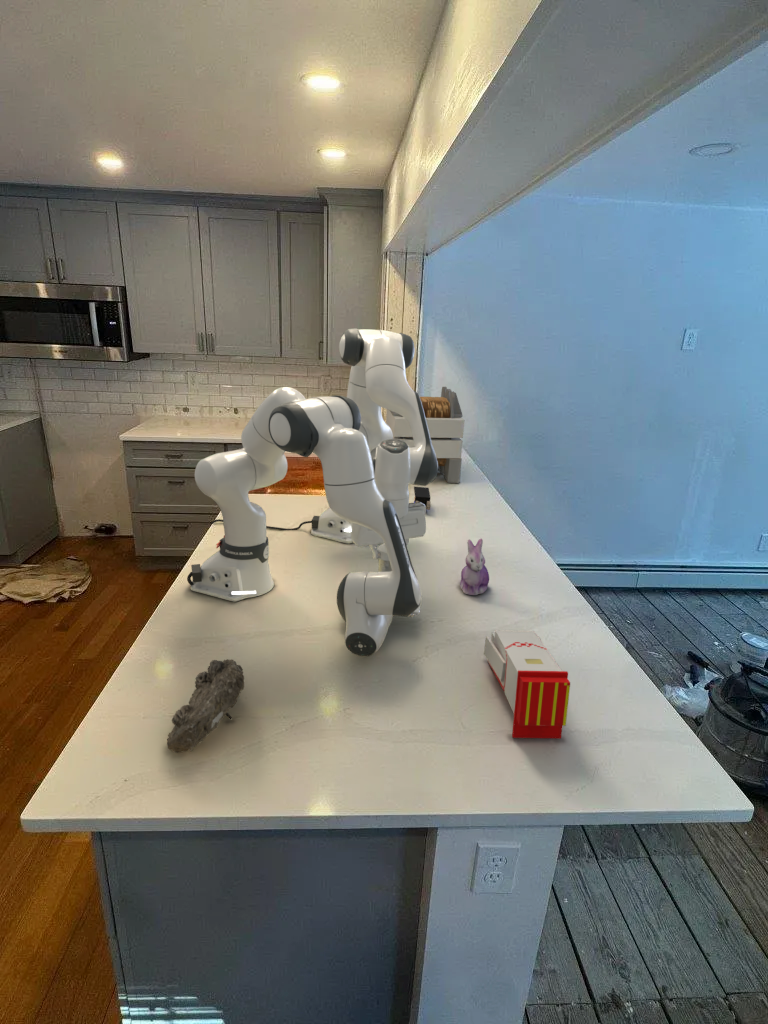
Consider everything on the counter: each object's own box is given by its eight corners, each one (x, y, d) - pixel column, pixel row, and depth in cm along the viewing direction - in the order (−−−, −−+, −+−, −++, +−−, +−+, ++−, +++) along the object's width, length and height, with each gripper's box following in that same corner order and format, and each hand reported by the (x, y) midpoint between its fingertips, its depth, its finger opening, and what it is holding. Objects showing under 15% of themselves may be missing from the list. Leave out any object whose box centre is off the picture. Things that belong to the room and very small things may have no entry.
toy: (532, 614, 131) (579, 678, 101) (527, 667, 134) (572, 745, 104) (479, 613, 130) (512, 677, 101) (476, 667, 133) (506, 744, 104)
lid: (386, 549, 151) (387, 541, 150) (404, 556, 147) (405, 548, 146) (372, 556, 146) (372, 548, 145) (390, 563, 143) (390, 554, 142)
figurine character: (431, 519, 219) (427, 502, 232) (432, 501, 216) (429, 485, 229) (413, 518, 219) (411, 501, 232) (415, 500, 215) (412, 484, 229)
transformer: (382, 463, 289) (386, 382, 275) (445, 464, 293) (451, 384, 279) (390, 482, 257) (394, 392, 243) (460, 483, 261) (468, 394, 247)
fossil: (192, 660, 117) (244, 628, 112) (224, 691, 120) (276, 661, 115) (142, 746, 98) (202, 712, 93) (182, 779, 101) (242, 748, 96)
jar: (392, 600, 154) (395, 545, 149) (397, 609, 150) (400, 553, 144) (374, 601, 153) (377, 546, 148) (378, 610, 149) (381, 554, 143)
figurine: (471, 599, 156) (476, 549, 151) (450, 583, 165) (454, 536, 160) (498, 593, 160) (504, 544, 155) (476, 578, 169) (481, 531, 164)
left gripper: (419, 605, 135) (426, 579, 148) (336, 593, 138) (350, 569, 151) (417, 628, 137) (425, 601, 150) (336, 616, 141) (350, 590, 153)
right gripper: (419, 497, 149) (416, 545, 154) (349, 506, 140) (347, 557, 145) (432, 504, 144) (428, 554, 149) (360, 514, 135) (358, 567, 139)
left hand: (387, 585), depth 151 cm, fingers closed on jar, 5 cm apart
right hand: (388, 556), depth 147 cm, fingers closed on lid, 5 cm apart
